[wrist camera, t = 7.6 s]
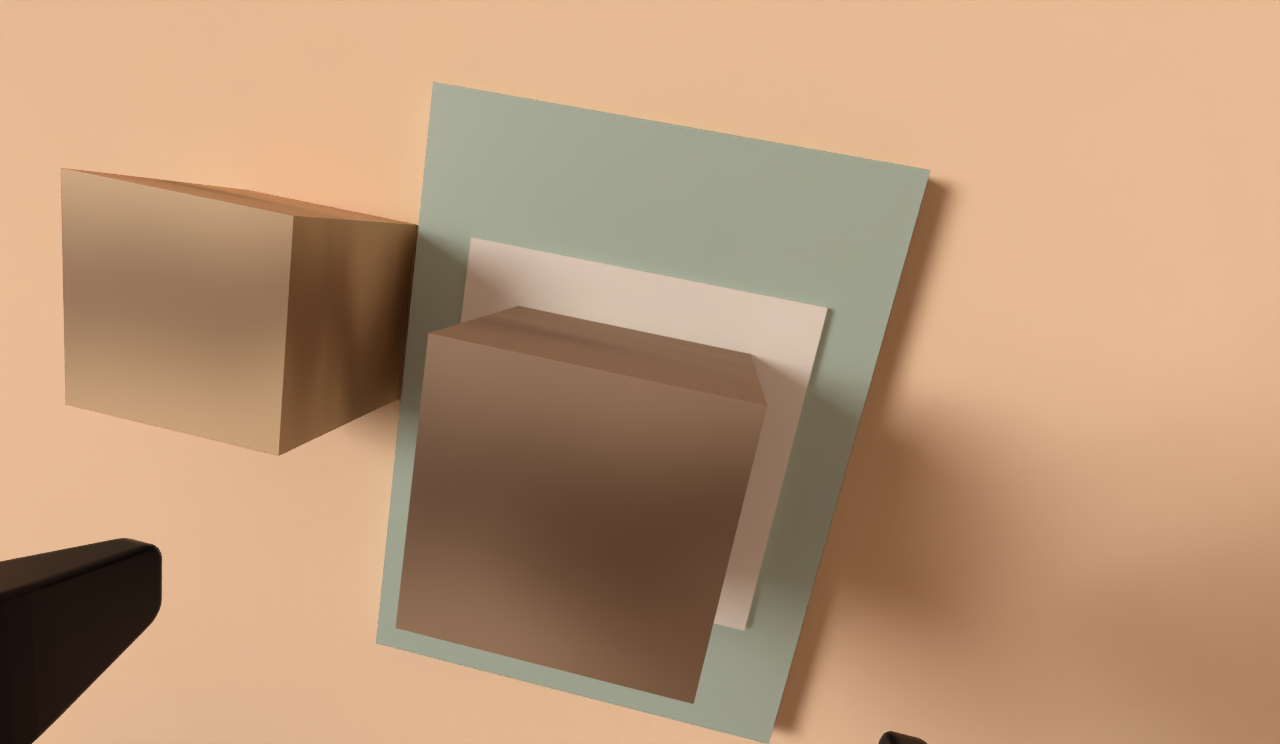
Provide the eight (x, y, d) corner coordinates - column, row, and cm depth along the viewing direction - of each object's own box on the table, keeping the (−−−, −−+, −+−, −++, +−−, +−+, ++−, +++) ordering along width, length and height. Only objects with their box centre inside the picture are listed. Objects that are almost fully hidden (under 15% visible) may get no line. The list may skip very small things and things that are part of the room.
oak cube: (399, 398, 18) (278, 455, 13) (240, 361, 18) (65, 404, 13) (417, 224, 17) (293, 215, 12) (248, 190, 17) (60, 167, 12)
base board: (766, 722, 18) (769, 749, 17) (389, 627, 19) (372, 647, 18) (918, 173, 15) (933, 169, 14) (447, 89, 16) (429, 79, 15)
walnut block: (700, 567, 16) (693, 704, 12) (488, 517, 17) (395, 628, 12) (750, 353, 15) (766, 405, 10) (518, 305, 16) (428, 332, 11)
